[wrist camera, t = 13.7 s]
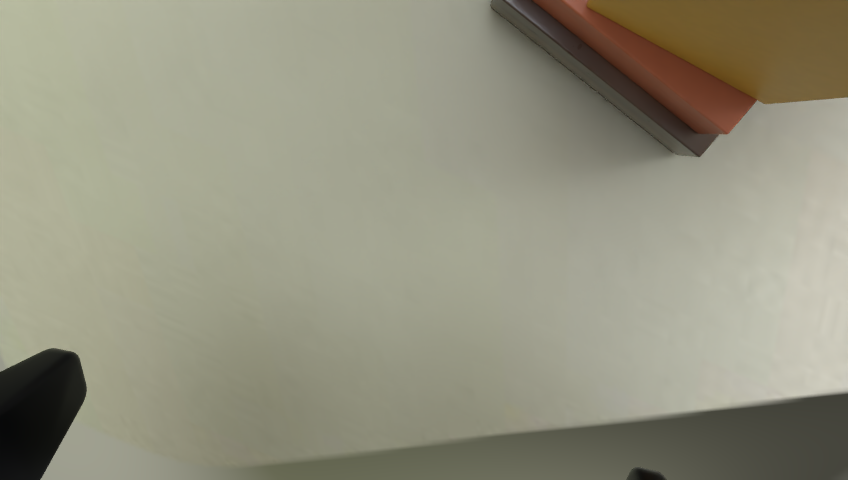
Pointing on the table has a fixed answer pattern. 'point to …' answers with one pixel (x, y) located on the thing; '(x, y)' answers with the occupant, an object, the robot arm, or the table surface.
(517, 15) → the stack
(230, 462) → the table surface
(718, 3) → the yellow block
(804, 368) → the table surface
